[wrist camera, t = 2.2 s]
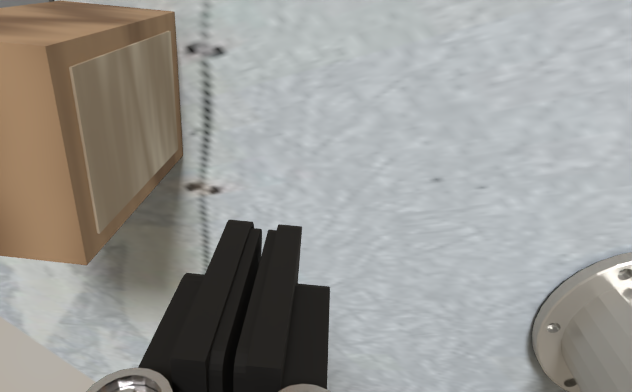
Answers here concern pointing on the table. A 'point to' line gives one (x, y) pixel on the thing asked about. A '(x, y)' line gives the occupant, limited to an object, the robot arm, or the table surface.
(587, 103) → the table surface
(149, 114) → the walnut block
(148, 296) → the table surface
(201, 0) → the table surface
